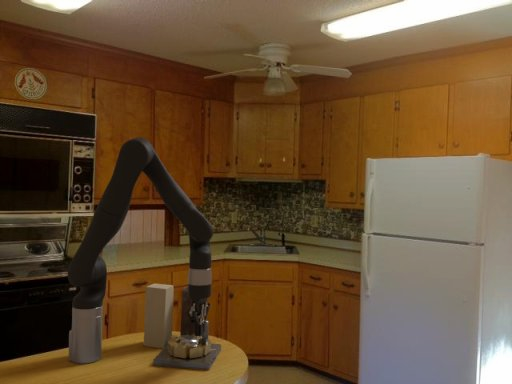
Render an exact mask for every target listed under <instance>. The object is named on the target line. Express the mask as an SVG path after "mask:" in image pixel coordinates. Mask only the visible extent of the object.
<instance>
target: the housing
mask: <svg viewBox="0 0 512 384" xmlns="http://www.w3.org/2000/svg"><path fill="white" fill-rule="evenodd" d="M198 341H199V339H198V338H197V337H192V336H188V337H183V338H181V339H180V342H186V344H185V346H194V345H198ZM167 346H168V345H167ZM167 346H166V347H165V348H162V349H161V351H160V352H159V353H158V354H157V355H156V356H155V357H154V358H153V366H157V367H170V368H179V369H180V368H181V369H190V370H191V369H192V370H206V371H210V369H211V367H212V366H213V364H214V362H215V361H216V359H217V358H218V356H219V354H220V352H221V351H222V344H221V343H212V342H211V351H210V352H209V353H208V354H206V355H202V357H196V358H189V357H187V358H180V357H174V355H170V354H169V352H168V351H167Z"/></svg>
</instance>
